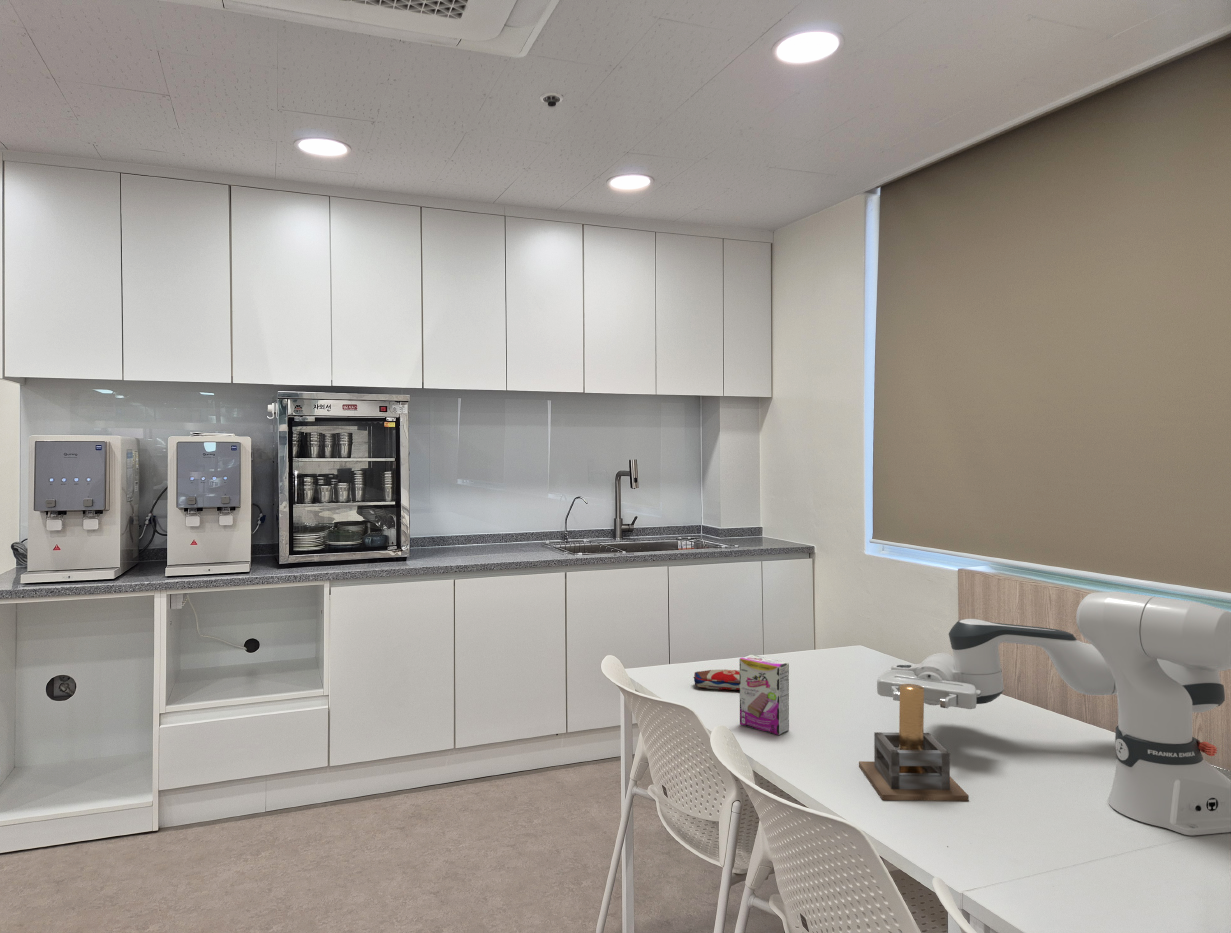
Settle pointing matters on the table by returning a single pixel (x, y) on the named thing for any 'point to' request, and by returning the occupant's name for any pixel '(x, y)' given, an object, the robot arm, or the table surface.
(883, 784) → the collar stand
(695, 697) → the table surface
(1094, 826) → the table surface
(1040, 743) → the table surface
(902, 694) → the copper tube
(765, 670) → the candy bar box
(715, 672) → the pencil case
